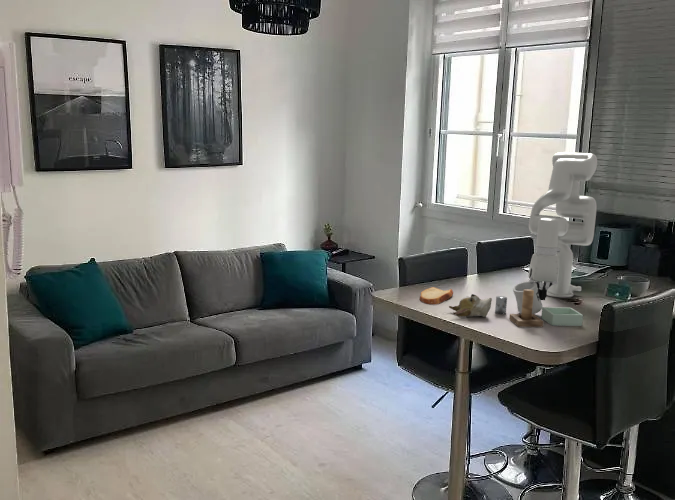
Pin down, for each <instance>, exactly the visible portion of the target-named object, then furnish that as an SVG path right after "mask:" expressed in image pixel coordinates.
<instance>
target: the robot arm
mask: <svg viewBox="0 0 675 500" xmlns="http://www.w3.org/2000/svg"><path fill="white" fill-rule="evenodd" d="M551 162H552V171H551V175H550V180H549V181H550V182H549V185H548V189H547V191H546V192H545V193H543V194H542V195H541V196H540V197H539V198H537V200H536V201H535V202H534V204H533V206H532V208H531V211H530V216H529V219H528V230H529V232H531V234H534V235H536V242H535V243H536V244H535V253H533V254H532V256H531V259H530V265H529V269H528V274H527V275H528V279H529V280H528V281H529V283H530V284H533V283H534V282H535V283H536V284H537V289H538V294H539V298H540V300H541V301H546V299H547V296H548V297H553V298H561V299H562V298H565V299H566V298H572V297H574V292H575V291H576V292H581V291H582V286H579V285H578V286H576V285H573V284H571V281H572V271H573V261H574V253H573V250H572V249H571V248H570V246H569V245H574V246H575V245H576V246H584V247H585V246H591V244H592V243H593V240H594V237H595V228H596V227H595V226H596V216H597V209H598V207H597V201H596V199H595V198H594V197H592V196H588V195H580V194H579V193H580V185H581V183H580V182H587V181H589V180H591V179H592V178H593V176H594V174H595V172H596V170H597V167H598V158H597V155H595V153H590V152H573V151H571V152H570V151H569V152H567V151H563V152H560V151H559V152H557V153H554V154H553V156H552V159H551ZM552 205H555V214H556V215H547V214H546V215H544V214H541V212H542V211H543V210H544V209H545V208H546V209H547V208H548V207H550V206H552ZM566 218H567V219H577V220H578V219H580V220H582V221H583V222H581V221H571V220H567V219H566Z"/></svg>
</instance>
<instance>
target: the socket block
mask: <svg viewBox="0 0 675 500" xmlns="http://www.w3.org/2000/svg"><path fill="white" fill-rule="evenodd" d="M509 320H510V321H511V322H512V323H513V324H514V325H516V326H517V327H518V328H519V327H521V328H522V327H523V328H525V327H527V328H539V327H541V328H543V326H544V320H543V319H542V318H540V317H538V316H537V315H536V314H532V318H531V320H522V319H521V314H520V313H509Z"/></svg>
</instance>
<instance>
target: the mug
mask: <svg viewBox="0 0 675 500" xmlns="http://www.w3.org/2000/svg"><path fill="white" fill-rule="evenodd" d="M524 289H530V290H534V296H533V307H532V314H534V315H536V314H538V313H539V312H542V307H543V303H542V300H540V298H539V294H538V288H537V284H536V283H535V282H534V283H533V284H530V283H529V280H528V281H523V282H519V283H517V284H515V285H514V286H513V287H512V291H513V294H514V296H515V301H516V306H517V311H518V314H521V312H522V301H523V290H524Z"/></svg>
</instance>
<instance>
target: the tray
mask: <svg viewBox="0 0 675 500" xmlns="http://www.w3.org/2000/svg"><path fill="white" fill-rule="evenodd" d="M540 317H541V318H540V319H541V320H543V321H545V322H546V323H548V324H549V325H550V326H552V327H556V326H558V327H559V326H561V327H565V326H566V327H582V326H583V322H584V321H583V319H584V315H583V314H582V313H581V312H579V311H577V310H576V309H574V308H572V307H558V306H555V307H550V306H548V307H547V306H542V309H541V316H540Z"/></svg>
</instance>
